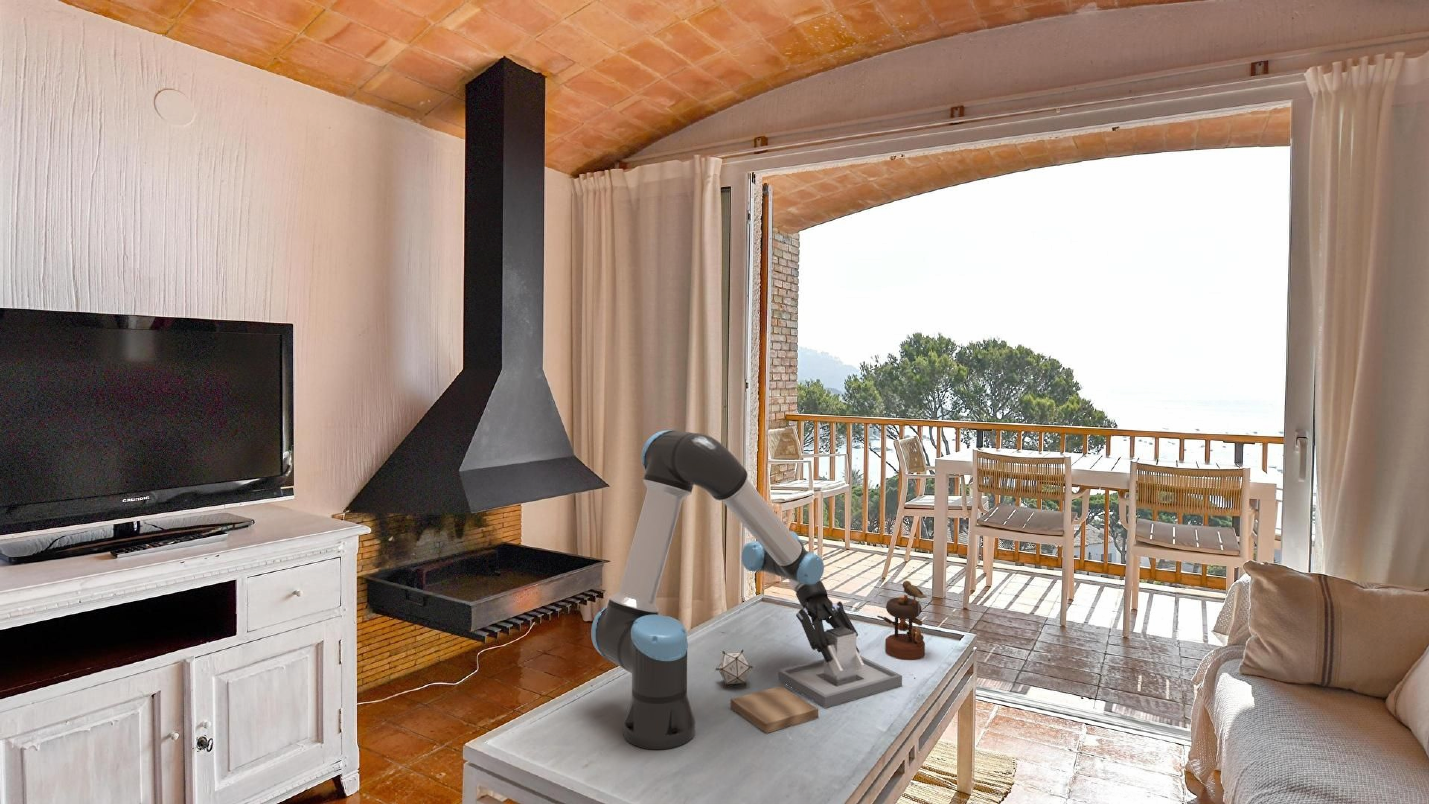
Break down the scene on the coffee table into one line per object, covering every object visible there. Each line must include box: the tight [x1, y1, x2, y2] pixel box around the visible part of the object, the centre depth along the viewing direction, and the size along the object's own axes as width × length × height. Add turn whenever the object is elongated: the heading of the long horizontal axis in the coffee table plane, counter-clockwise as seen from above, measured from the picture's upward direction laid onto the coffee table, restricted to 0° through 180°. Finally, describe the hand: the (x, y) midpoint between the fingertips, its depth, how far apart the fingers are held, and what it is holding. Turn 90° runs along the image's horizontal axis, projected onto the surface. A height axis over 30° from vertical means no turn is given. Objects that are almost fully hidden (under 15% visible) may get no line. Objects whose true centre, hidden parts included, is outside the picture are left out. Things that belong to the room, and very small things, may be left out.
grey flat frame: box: [777, 654, 903, 709], centre depth 185 cm, size 24×18×2 cm
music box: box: [876, 580, 928, 661], centre depth 205 cm, size 15×11×20 cm
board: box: [730, 685, 819, 734], centre depth 169 cm, size 14×14×2 cm
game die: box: [715, 649, 754, 688], centre depth 184 cm, size 9×8×10 cm
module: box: [823, 626, 857, 687], centre depth 185 cm, size 6×5×13 cm
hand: (849, 670), depth 182 cm, fingers closed on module, 6 cm apart
